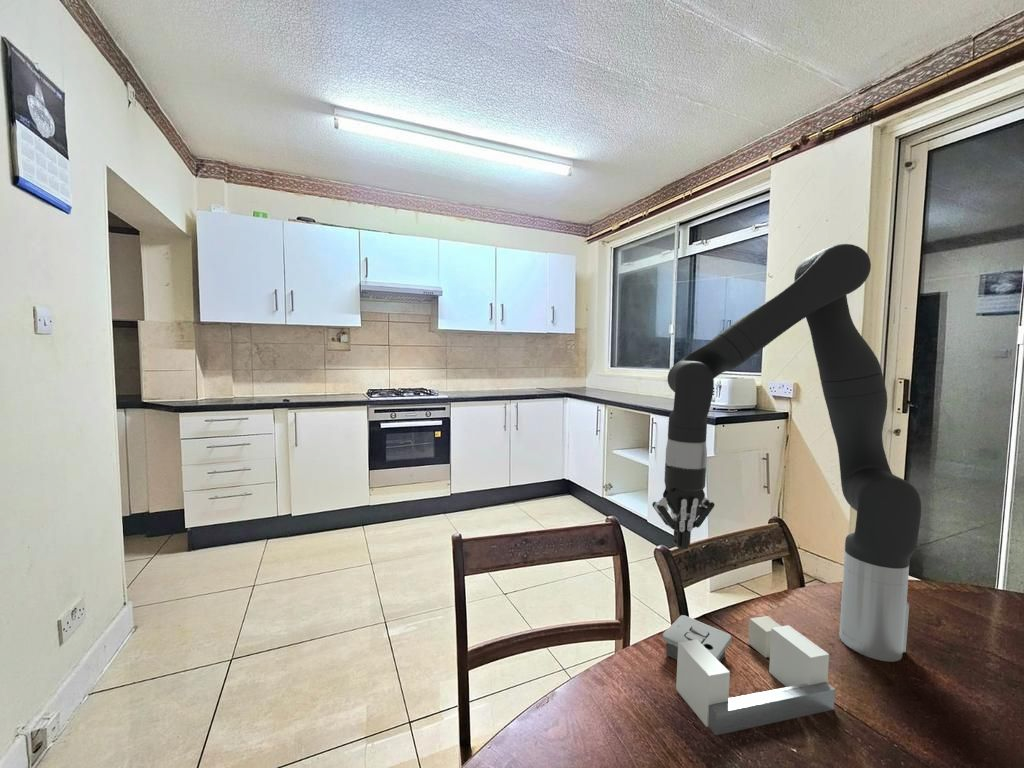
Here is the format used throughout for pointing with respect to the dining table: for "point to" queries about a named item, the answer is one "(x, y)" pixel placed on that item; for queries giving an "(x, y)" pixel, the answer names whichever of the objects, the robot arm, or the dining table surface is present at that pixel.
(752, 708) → the grey rectangular bar
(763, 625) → the block
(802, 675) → the block
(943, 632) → the dining table surface
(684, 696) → the block
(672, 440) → the robot arm
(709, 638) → the electrical switch
